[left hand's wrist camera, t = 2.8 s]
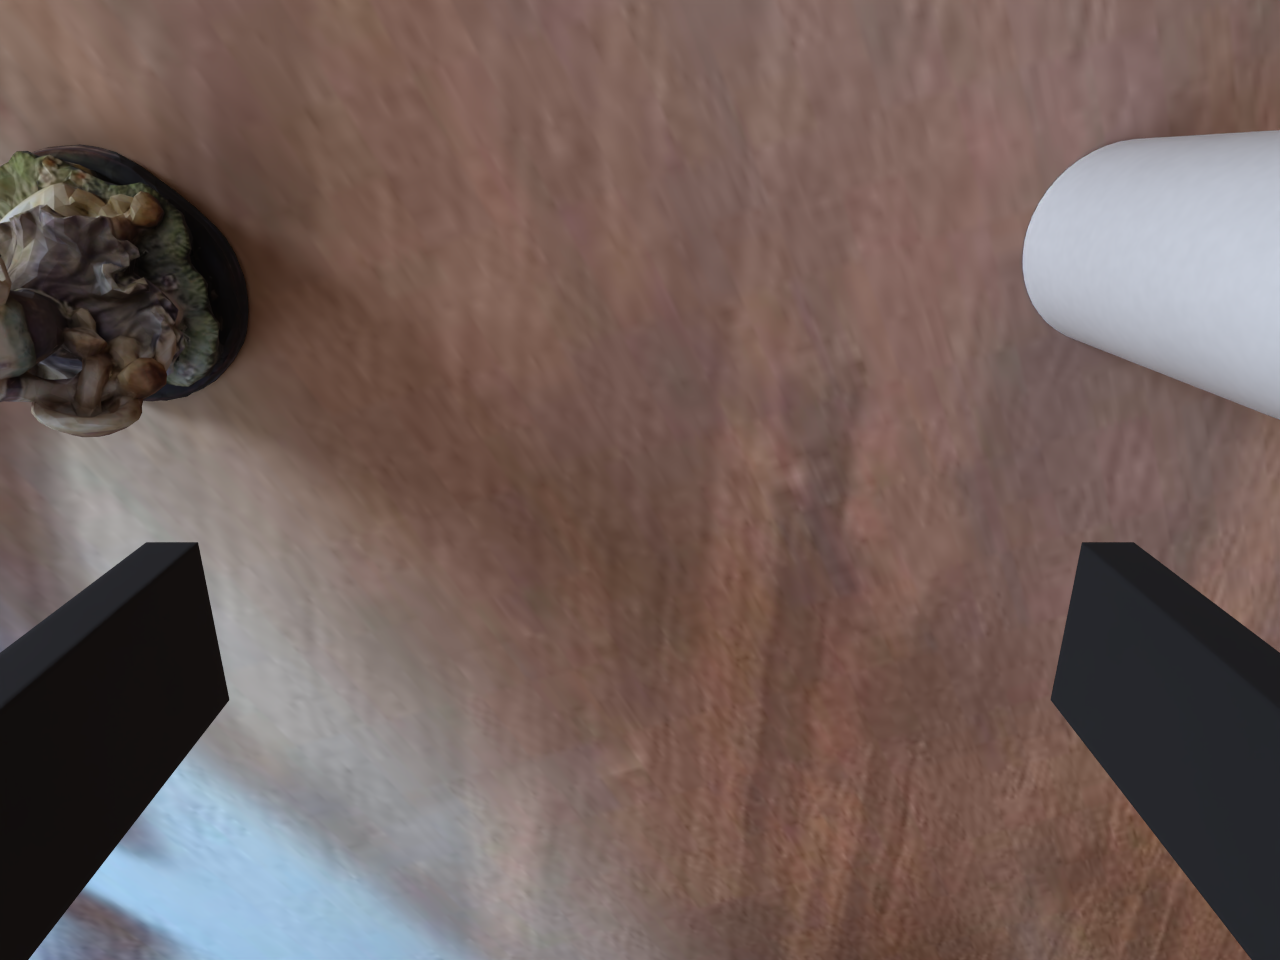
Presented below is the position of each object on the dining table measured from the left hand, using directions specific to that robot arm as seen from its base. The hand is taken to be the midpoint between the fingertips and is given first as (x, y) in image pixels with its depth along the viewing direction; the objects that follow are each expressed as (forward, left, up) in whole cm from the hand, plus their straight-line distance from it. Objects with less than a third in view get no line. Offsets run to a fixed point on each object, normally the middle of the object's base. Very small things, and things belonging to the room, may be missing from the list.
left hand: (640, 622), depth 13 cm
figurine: (+2, +24, -28) cm, 37 cm away
